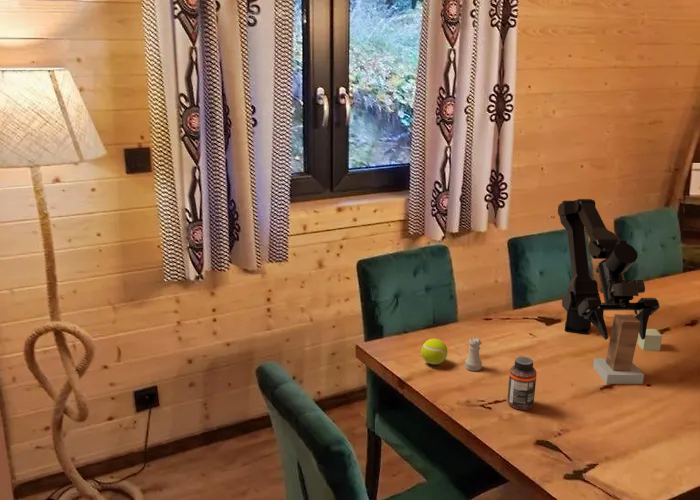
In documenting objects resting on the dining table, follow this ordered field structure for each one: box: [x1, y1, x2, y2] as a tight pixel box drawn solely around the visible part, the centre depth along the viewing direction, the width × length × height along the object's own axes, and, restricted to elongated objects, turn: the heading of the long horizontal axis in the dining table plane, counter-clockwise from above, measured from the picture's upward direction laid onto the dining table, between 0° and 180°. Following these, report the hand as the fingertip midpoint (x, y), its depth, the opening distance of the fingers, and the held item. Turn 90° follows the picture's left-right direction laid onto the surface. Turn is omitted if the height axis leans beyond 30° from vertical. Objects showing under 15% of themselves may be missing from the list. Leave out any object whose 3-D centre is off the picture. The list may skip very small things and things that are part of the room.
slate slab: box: [592, 357, 645, 385], centre depth 171 cm, size 9×9×3 cm
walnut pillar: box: [605, 313, 641, 371], centre depth 169 cm, size 4×4×13 cm
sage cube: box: [636, 328, 663, 352], centre depth 187 cm, size 4×4×4 cm
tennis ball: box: [421, 338, 448, 366], centre depth 176 cm, size 7×7×7 cm
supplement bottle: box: [507, 355, 537, 411], centre depth 155 cm, size 6×6×11 cm
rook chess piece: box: [464, 336, 483, 372], centre depth 173 cm, size 4×4×8 cm
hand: (625, 339), depth 167 cm, fingers open, 9 cm apart
